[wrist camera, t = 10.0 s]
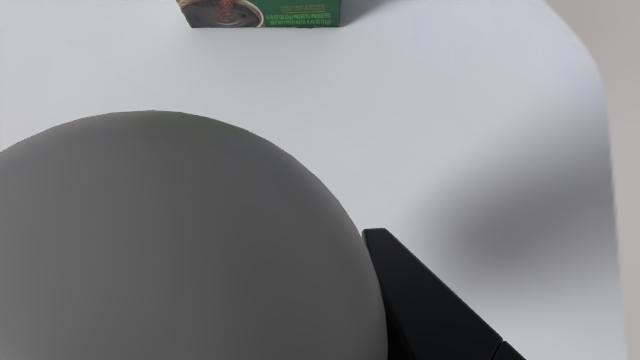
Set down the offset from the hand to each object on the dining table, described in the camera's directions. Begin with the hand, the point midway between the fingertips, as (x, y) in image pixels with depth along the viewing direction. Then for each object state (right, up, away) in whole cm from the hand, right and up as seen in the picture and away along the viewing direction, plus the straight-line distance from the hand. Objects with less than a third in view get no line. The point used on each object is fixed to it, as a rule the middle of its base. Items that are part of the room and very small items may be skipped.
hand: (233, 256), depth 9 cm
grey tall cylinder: (0, -3, +6) cm, 7 cm away
